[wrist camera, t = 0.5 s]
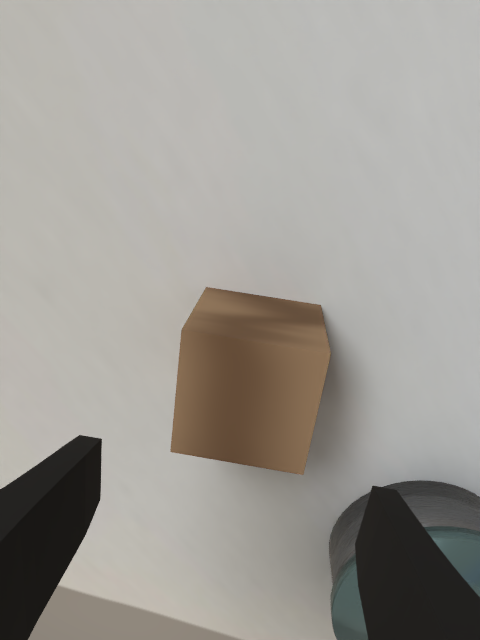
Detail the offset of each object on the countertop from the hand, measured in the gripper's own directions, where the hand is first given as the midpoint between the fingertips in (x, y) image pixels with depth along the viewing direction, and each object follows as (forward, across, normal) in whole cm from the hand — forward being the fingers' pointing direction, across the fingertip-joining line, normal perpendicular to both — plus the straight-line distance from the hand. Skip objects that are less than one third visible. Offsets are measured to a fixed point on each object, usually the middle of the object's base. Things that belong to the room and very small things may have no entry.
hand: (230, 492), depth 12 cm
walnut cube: (+9, 0, 0) cm, 9 cm away
